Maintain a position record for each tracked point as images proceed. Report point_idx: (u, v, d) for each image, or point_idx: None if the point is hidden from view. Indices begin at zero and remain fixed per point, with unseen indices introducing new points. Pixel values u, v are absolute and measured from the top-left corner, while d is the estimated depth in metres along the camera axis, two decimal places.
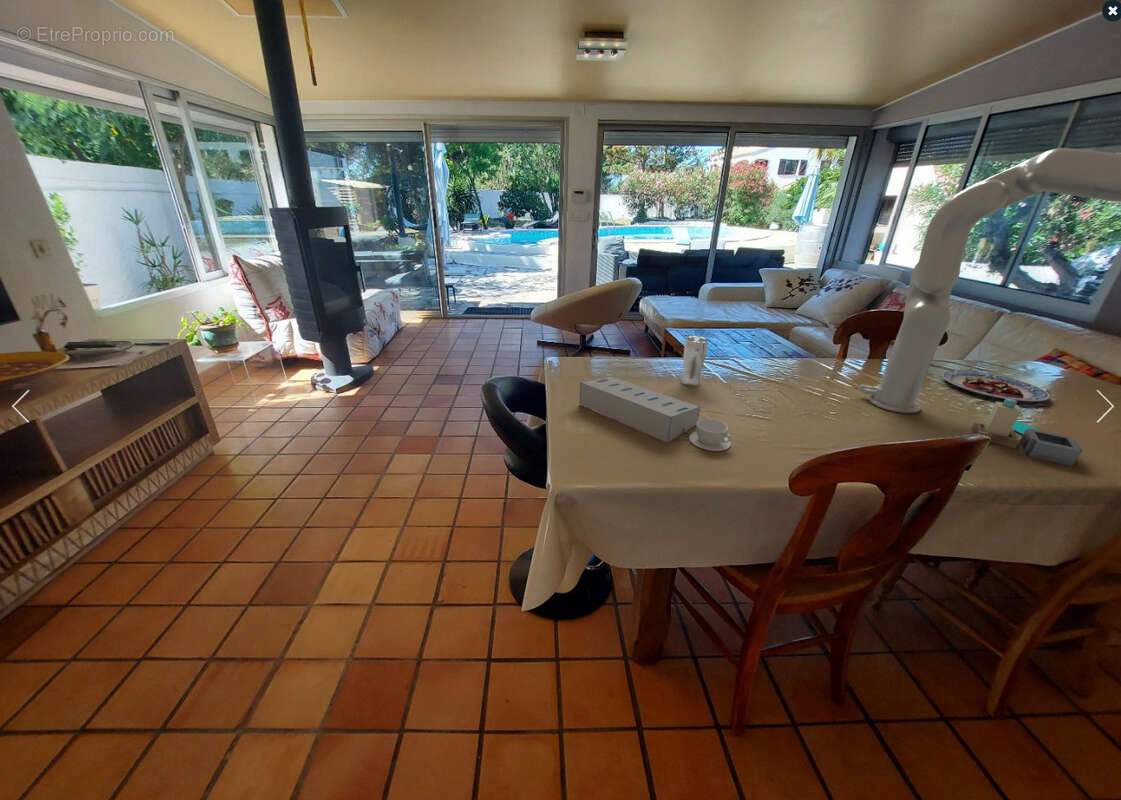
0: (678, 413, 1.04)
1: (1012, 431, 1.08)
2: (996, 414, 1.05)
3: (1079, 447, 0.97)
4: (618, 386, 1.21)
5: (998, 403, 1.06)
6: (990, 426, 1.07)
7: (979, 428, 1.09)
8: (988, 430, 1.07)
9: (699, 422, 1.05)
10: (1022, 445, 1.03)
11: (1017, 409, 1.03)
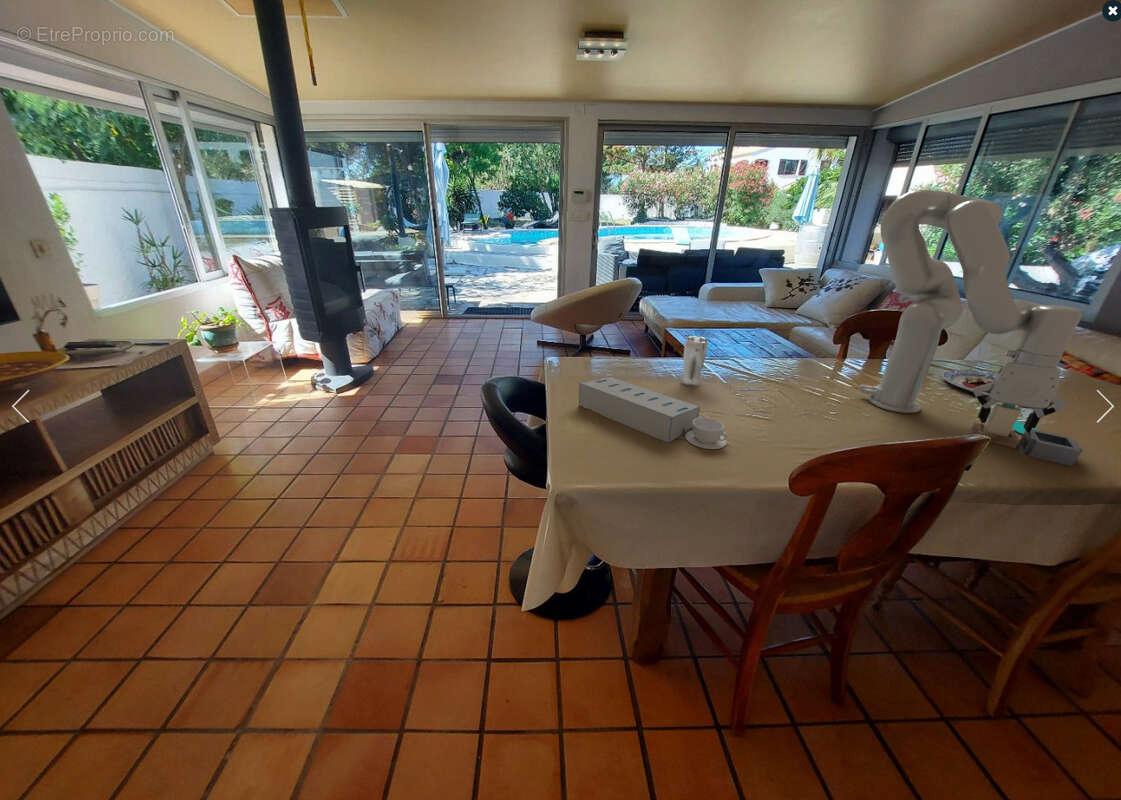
0: (679, 413, 1.04)
1: (1012, 431, 1.08)
2: (996, 414, 1.05)
3: (1079, 447, 0.97)
4: (617, 387, 1.21)
5: (998, 403, 1.06)
6: (990, 426, 1.07)
7: (979, 428, 1.09)
8: (988, 430, 1.07)
9: (695, 421, 1.06)
10: (1022, 445, 1.03)
11: (1017, 409, 1.03)
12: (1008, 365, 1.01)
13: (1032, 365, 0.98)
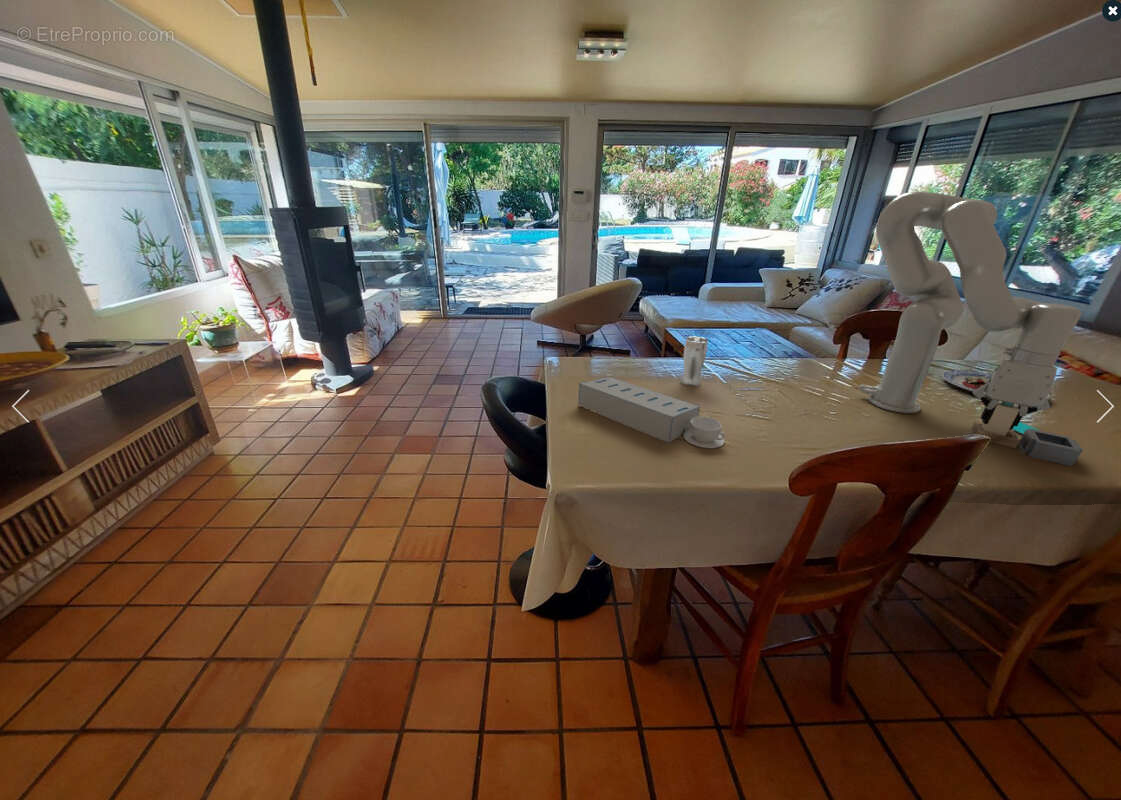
0: (679, 413, 1.04)
1: (1012, 431, 1.08)
2: (995, 412, 1.06)
3: (1079, 447, 0.97)
4: (617, 387, 1.20)
5: None
6: (988, 424, 1.07)
7: (979, 428, 1.09)
8: (986, 428, 1.08)
9: (693, 420, 1.07)
10: (1022, 445, 1.03)
11: (1016, 408, 1.04)
12: (1005, 363, 1.02)
13: (1029, 363, 0.98)
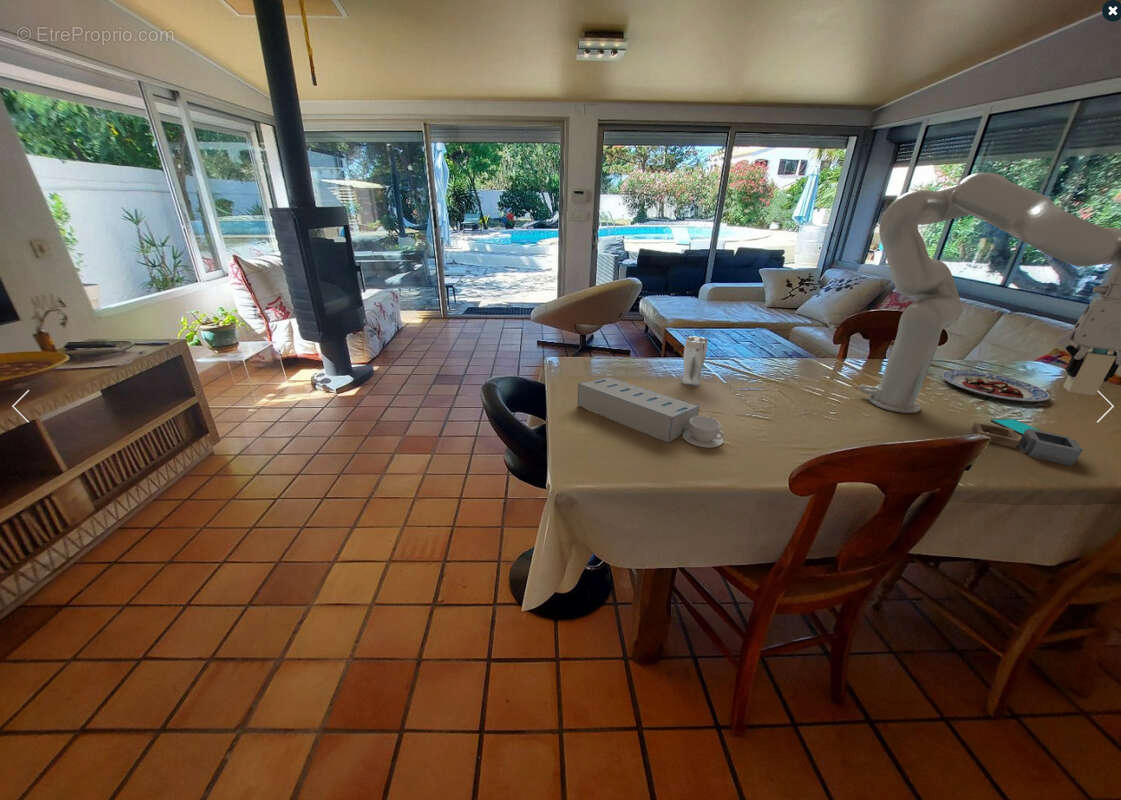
0: (679, 413, 1.04)
1: (1012, 431, 1.08)
2: (1085, 362, 0.92)
3: (1079, 447, 0.97)
4: (616, 387, 1.20)
5: None
6: (1077, 377, 0.93)
7: (979, 428, 1.09)
8: (1075, 382, 0.94)
9: (692, 419, 1.07)
10: (1022, 445, 1.03)
11: (1111, 355, 0.90)
12: (1097, 302, 0.88)
13: None
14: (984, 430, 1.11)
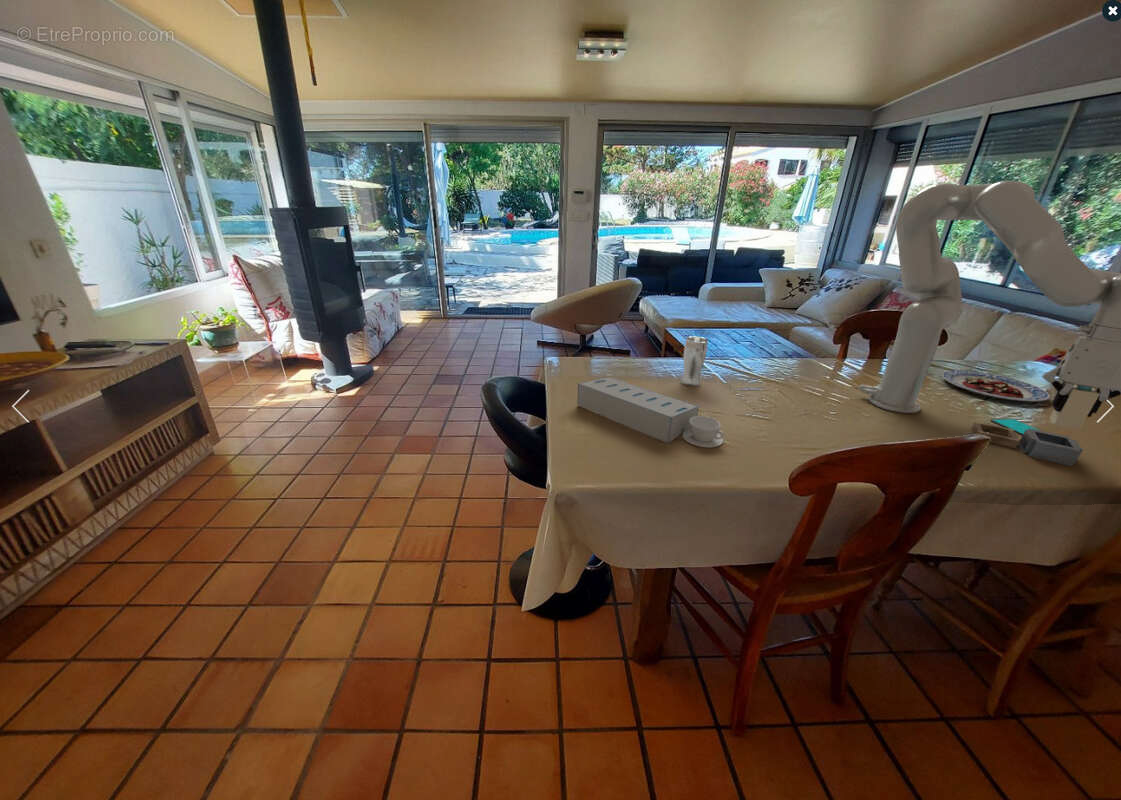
0: (678, 413, 1.04)
1: (1012, 431, 1.08)
2: (1070, 398, 0.95)
3: (1079, 447, 0.97)
4: (616, 387, 1.20)
5: None
6: (1062, 411, 0.96)
7: (979, 428, 1.09)
8: (1060, 416, 0.97)
9: (692, 419, 1.07)
10: (1022, 445, 1.03)
11: (1095, 392, 0.93)
12: (1082, 342, 0.91)
13: (1112, 341, 0.88)
14: (984, 430, 1.11)
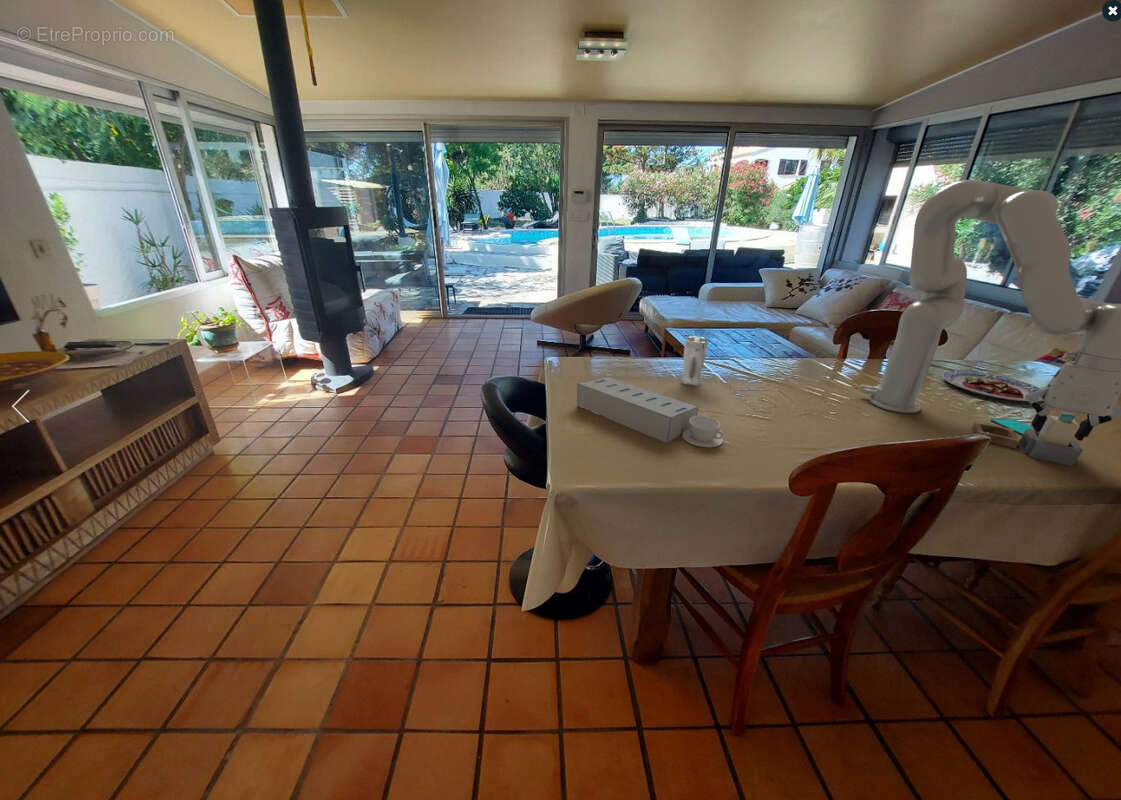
0: (677, 413, 1.04)
1: (1012, 431, 1.08)
2: (1051, 429, 0.98)
3: (1079, 447, 0.97)
4: (616, 387, 1.20)
5: (1053, 417, 1.00)
6: None
7: (979, 428, 1.09)
8: None
9: (692, 419, 1.07)
10: (1022, 445, 1.03)
11: (1075, 424, 0.96)
12: (1067, 368, 0.94)
13: (1095, 369, 0.90)
14: (984, 430, 1.11)
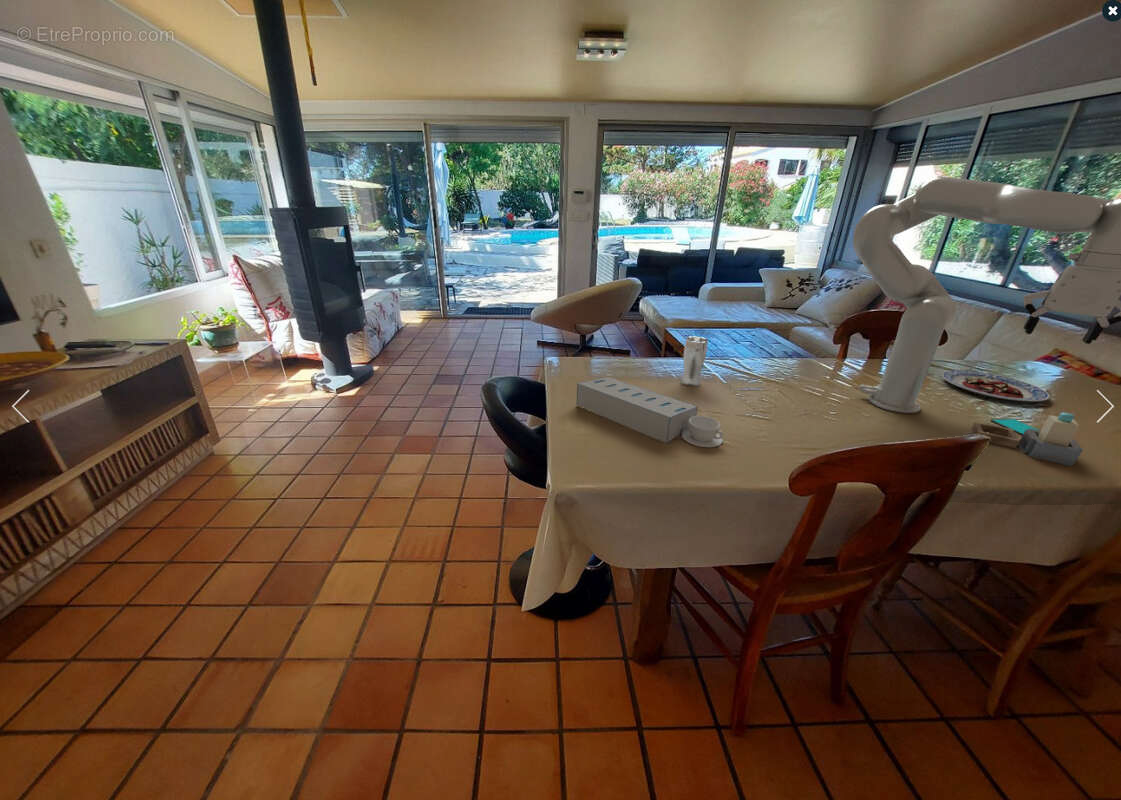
0: (676, 413, 1.04)
1: (1012, 431, 1.08)
2: (1051, 429, 0.98)
3: (1079, 447, 0.97)
4: (615, 387, 1.20)
5: (1052, 417, 1.00)
6: None
7: (979, 428, 1.09)
8: None
9: (691, 419, 1.07)
10: (1022, 445, 1.03)
11: (1075, 424, 0.96)
12: (1070, 269, 0.93)
13: (1098, 266, 0.89)
14: (984, 430, 1.11)
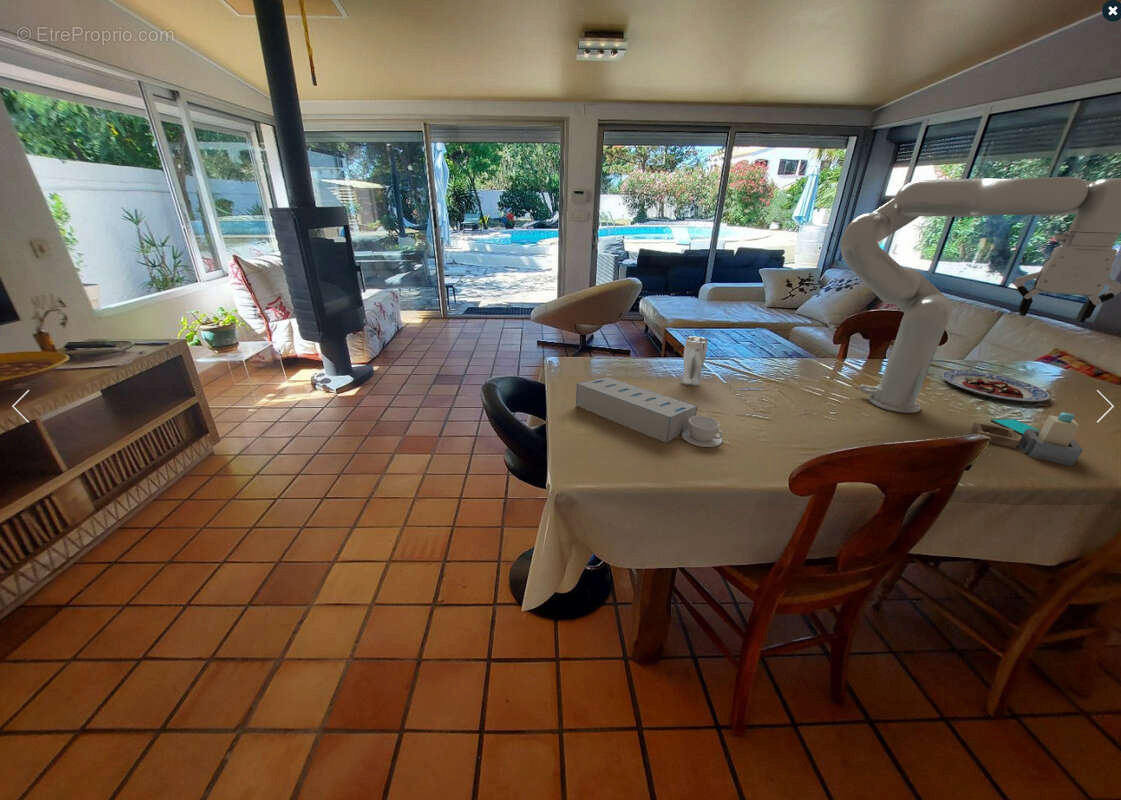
0: (676, 413, 1.04)
1: (1012, 431, 1.08)
2: (1051, 429, 0.98)
3: (1079, 447, 0.97)
4: (615, 387, 1.20)
5: (1052, 417, 1.00)
6: None
7: (979, 428, 1.09)
8: None
9: (691, 419, 1.07)
10: (1022, 445, 1.03)
11: (1075, 424, 0.96)
12: (1058, 250, 0.95)
13: (1086, 245, 0.91)
14: (984, 430, 1.11)
